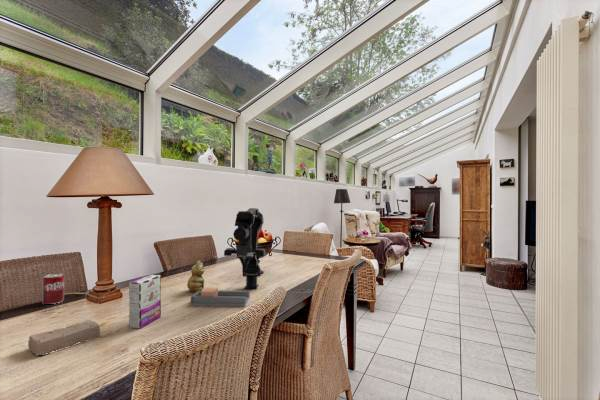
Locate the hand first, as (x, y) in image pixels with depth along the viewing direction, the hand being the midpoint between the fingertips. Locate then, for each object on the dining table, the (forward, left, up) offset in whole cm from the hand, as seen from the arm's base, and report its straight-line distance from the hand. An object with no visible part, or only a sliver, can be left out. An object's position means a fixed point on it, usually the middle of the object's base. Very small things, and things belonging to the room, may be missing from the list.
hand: (244, 270), depth 137 cm
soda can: (+11, -82, -13) cm, 84 cm away
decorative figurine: (-8, -26, -13) cm, 31 cm away
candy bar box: (+30, -31, -13) cm, 45 cm away
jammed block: (+7, -15, -11) cm, 20 cm away
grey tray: (+7, -9, -13) cm, 17 cm away
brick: (+46, -48, -13) cm, 67 cm away
